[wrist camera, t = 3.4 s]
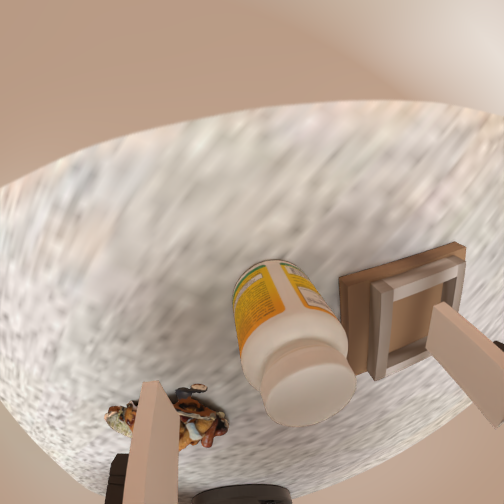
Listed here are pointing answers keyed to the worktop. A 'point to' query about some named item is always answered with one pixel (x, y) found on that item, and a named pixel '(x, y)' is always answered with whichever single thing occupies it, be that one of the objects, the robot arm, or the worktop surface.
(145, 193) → the worktop surface
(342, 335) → the supplement bottle
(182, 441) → the brown lumpy food piece
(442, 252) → the socket board
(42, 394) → the worktop surface
